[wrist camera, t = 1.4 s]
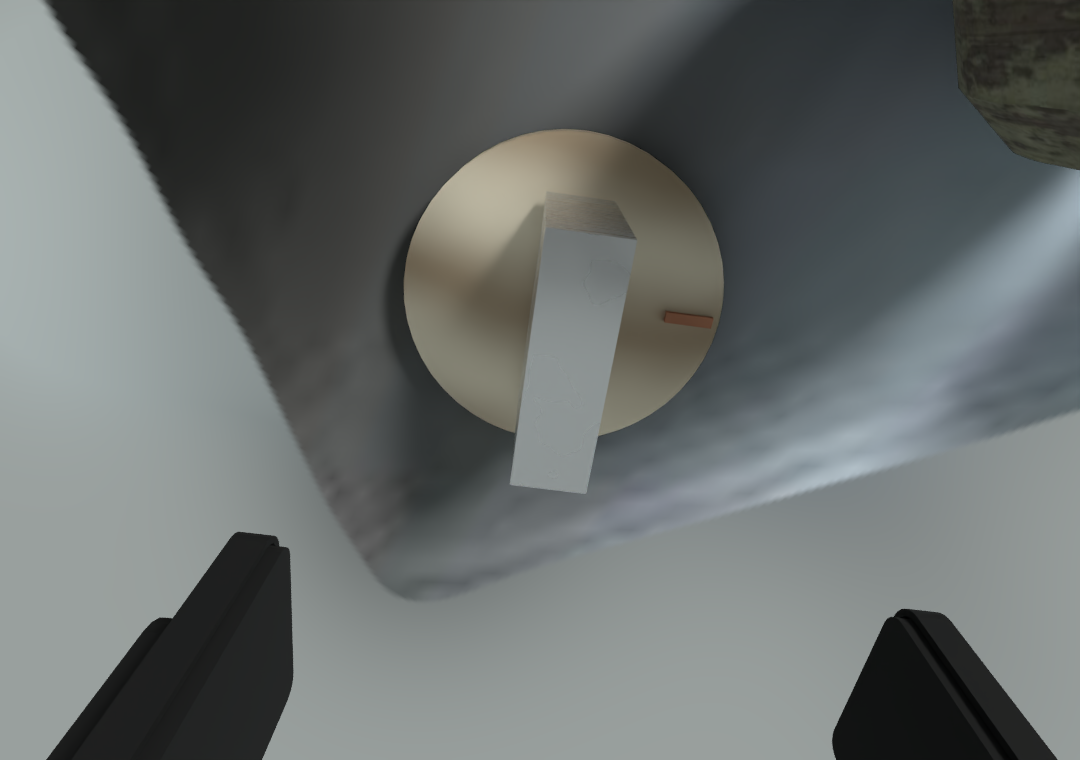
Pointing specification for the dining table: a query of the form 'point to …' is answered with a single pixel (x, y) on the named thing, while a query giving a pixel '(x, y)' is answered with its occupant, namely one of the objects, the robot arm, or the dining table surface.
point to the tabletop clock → (1023, 73)
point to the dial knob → (570, 340)
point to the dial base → (510, 263)
